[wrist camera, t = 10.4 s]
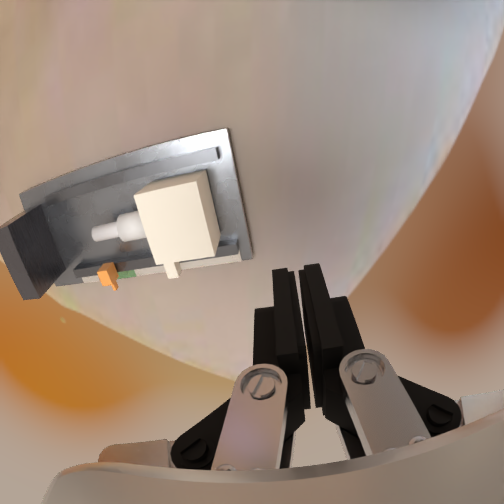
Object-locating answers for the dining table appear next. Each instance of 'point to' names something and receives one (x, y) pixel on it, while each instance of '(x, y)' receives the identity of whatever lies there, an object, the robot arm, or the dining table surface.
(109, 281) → the indicator
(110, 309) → the dining table surface
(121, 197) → the gauge bed
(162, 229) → the cube with side peg
